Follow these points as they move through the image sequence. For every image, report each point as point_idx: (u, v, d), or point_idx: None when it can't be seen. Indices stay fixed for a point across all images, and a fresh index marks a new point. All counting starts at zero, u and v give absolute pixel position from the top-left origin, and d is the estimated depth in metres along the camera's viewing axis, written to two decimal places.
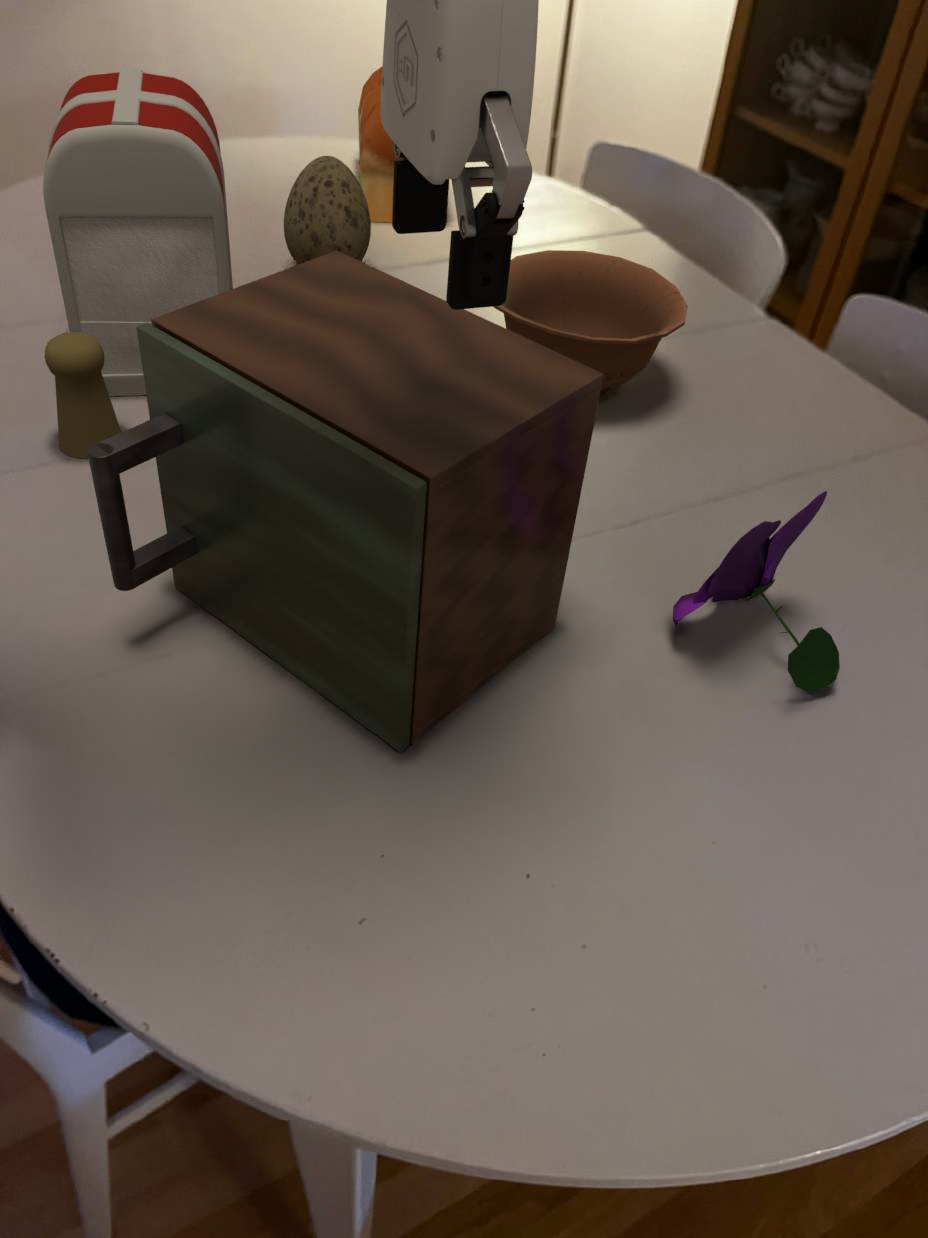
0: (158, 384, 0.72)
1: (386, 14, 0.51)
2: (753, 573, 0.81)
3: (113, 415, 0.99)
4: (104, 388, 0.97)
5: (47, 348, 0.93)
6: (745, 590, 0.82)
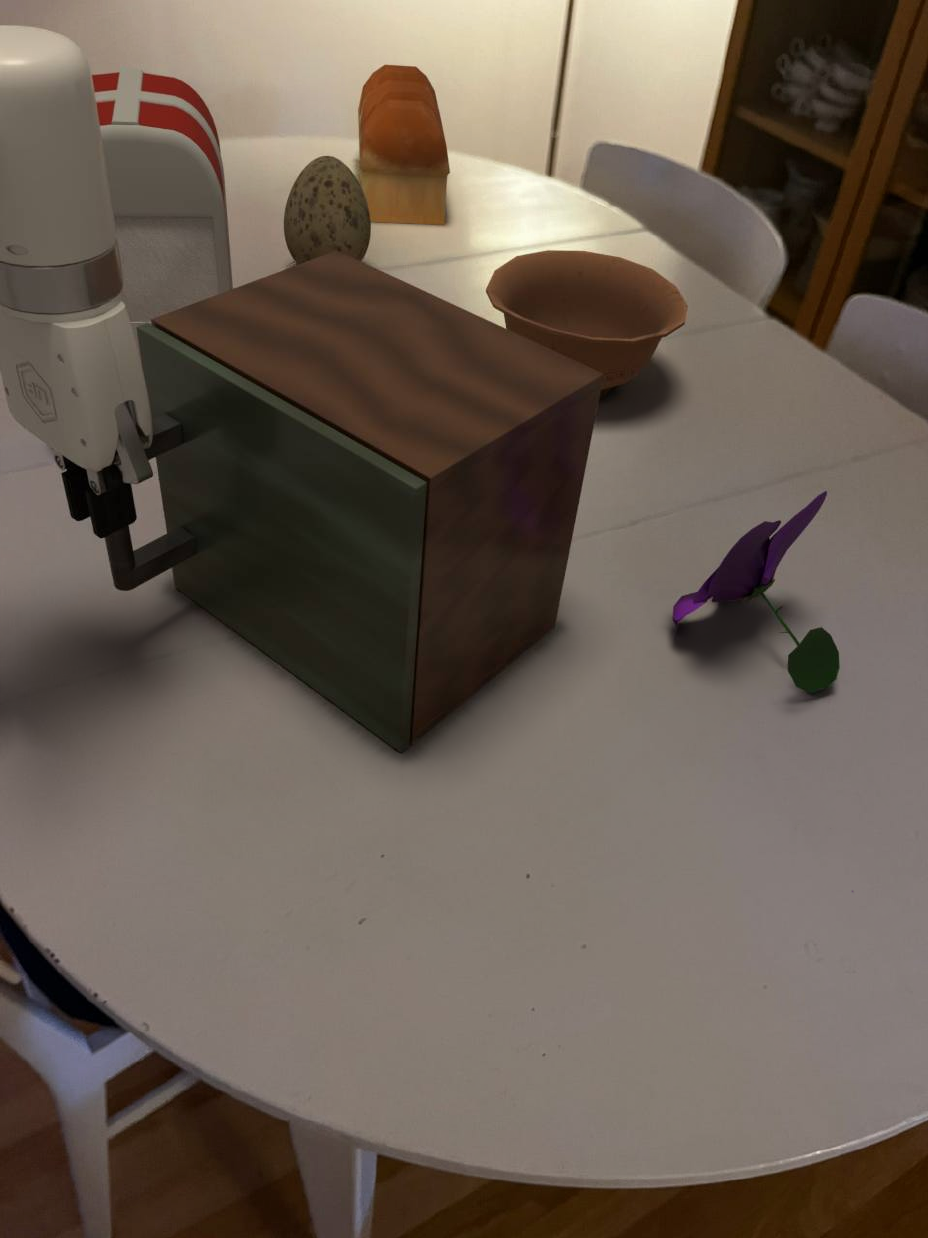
0: (158, 384, 0.72)
1: None
2: (753, 573, 0.81)
3: None
4: None
5: None
6: (745, 590, 0.82)
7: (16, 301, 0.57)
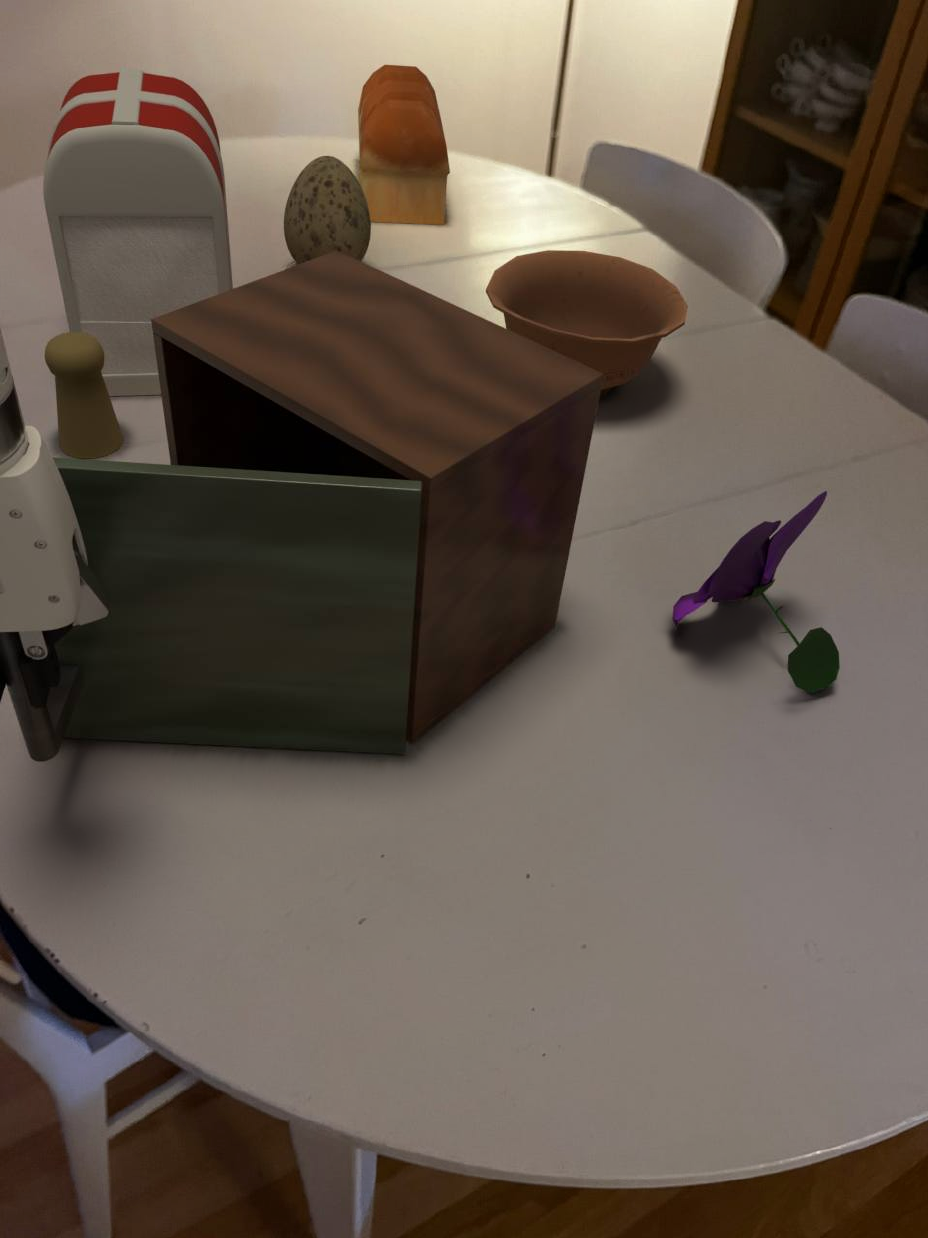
0: None
1: None
2: (753, 573, 0.81)
3: (113, 415, 0.99)
4: (104, 388, 0.97)
5: (47, 348, 0.93)
6: (745, 590, 0.82)
7: None
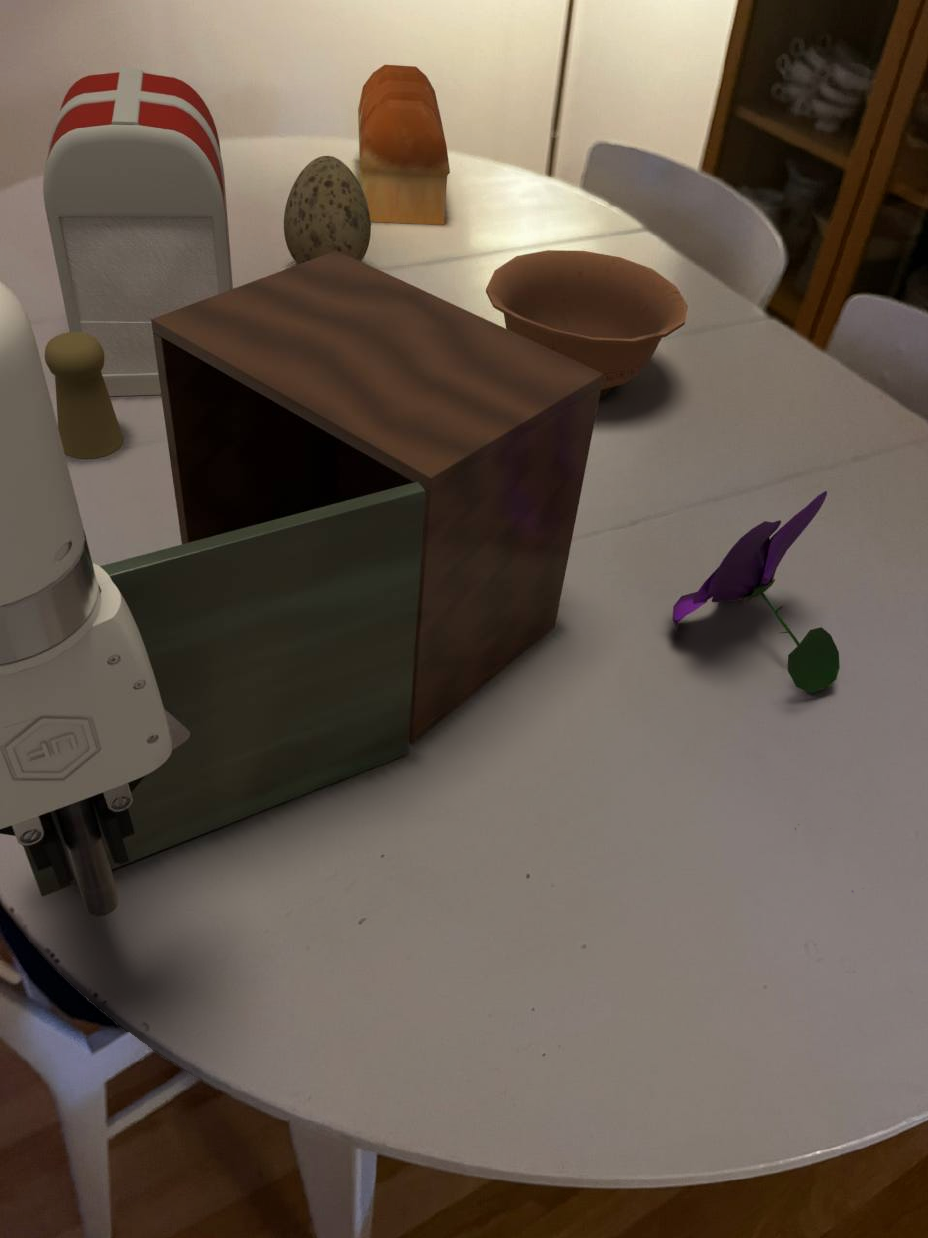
0: None
1: None
2: (753, 573, 0.81)
3: (113, 415, 0.99)
4: (104, 388, 0.97)
5: (47, 348, 0.93)
6: (745, 590, 0.82)
7: (55, 634, 0.39)
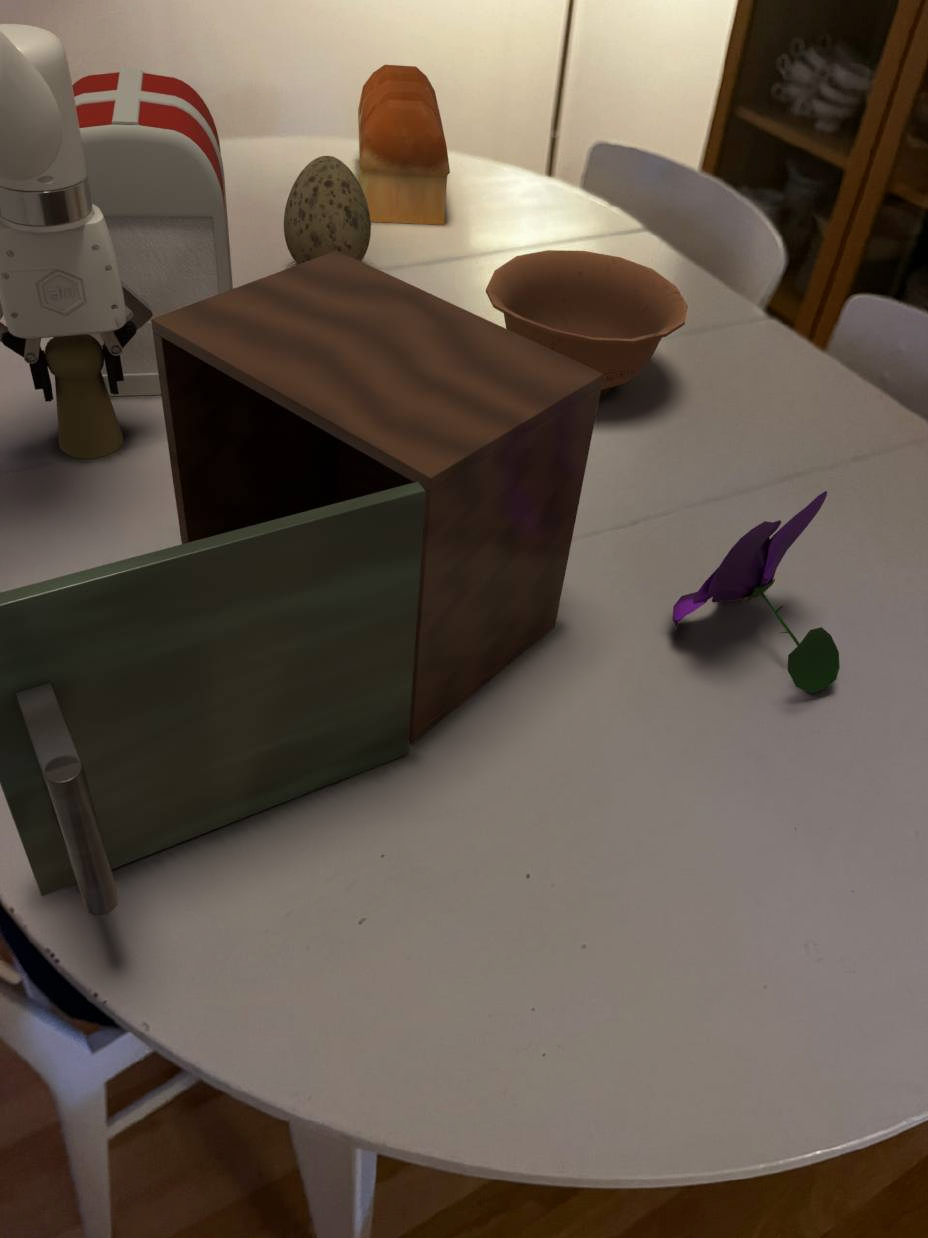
0: None
1: (6, 279, 0.85)
2: (753, 573, 0.81)
3: (113, 415, 0.99)
4: (104, 388, 0.97)
5: (47, 348, 0.93)
6: (745, 590, 0.82)
7: (65, 216, 0.83)
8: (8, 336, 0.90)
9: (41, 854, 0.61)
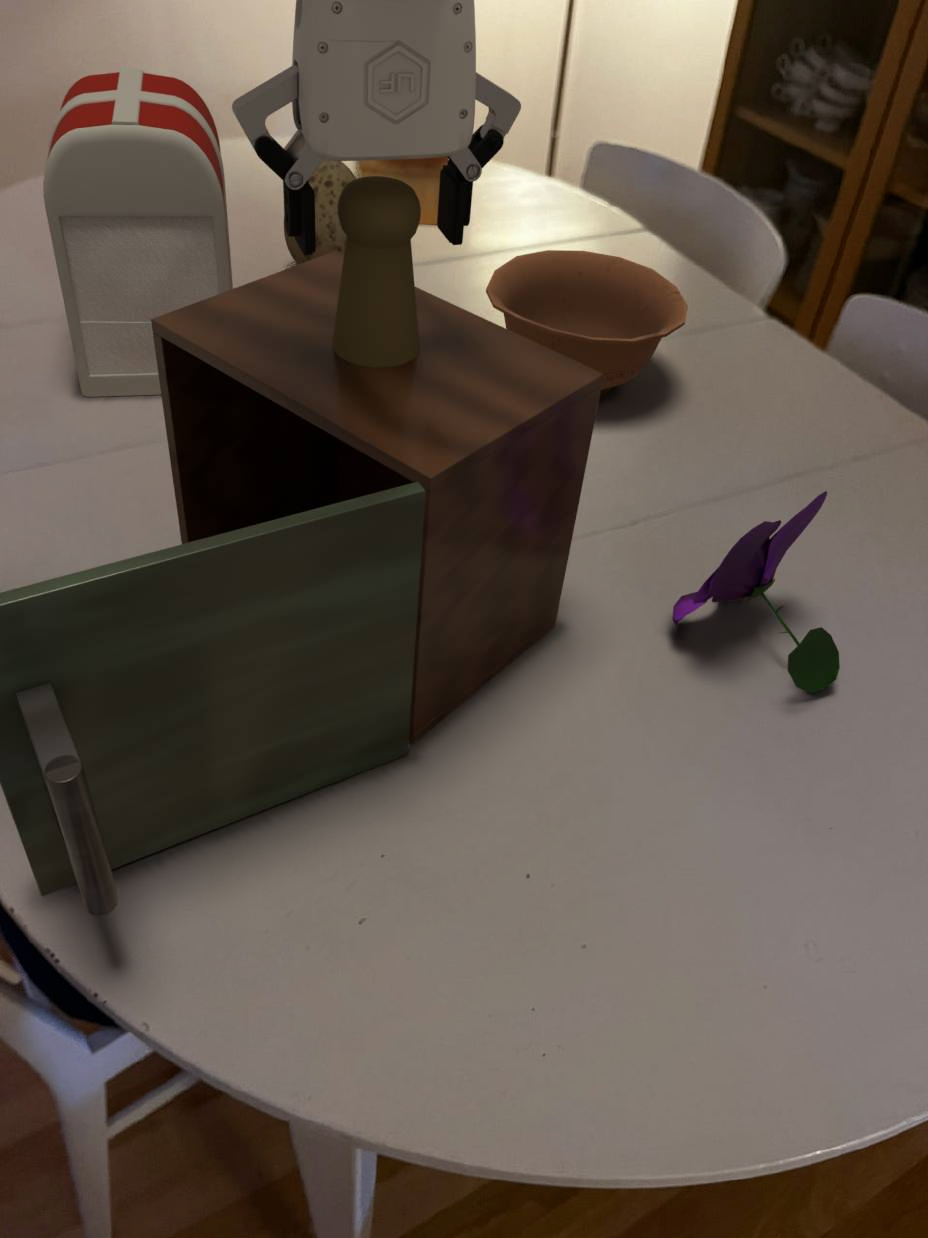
0: None
1: (323, 54, 0.55)
2: (753, 573, 0.81)
3: (415, 305, 0.68)
4: (412, 262, 0.66)
5: (346, 195, 0.62)
6: (745, 590, 0.82)
7: None
8: (266, 142, 0.58)
9: (41, 854, 0.61)
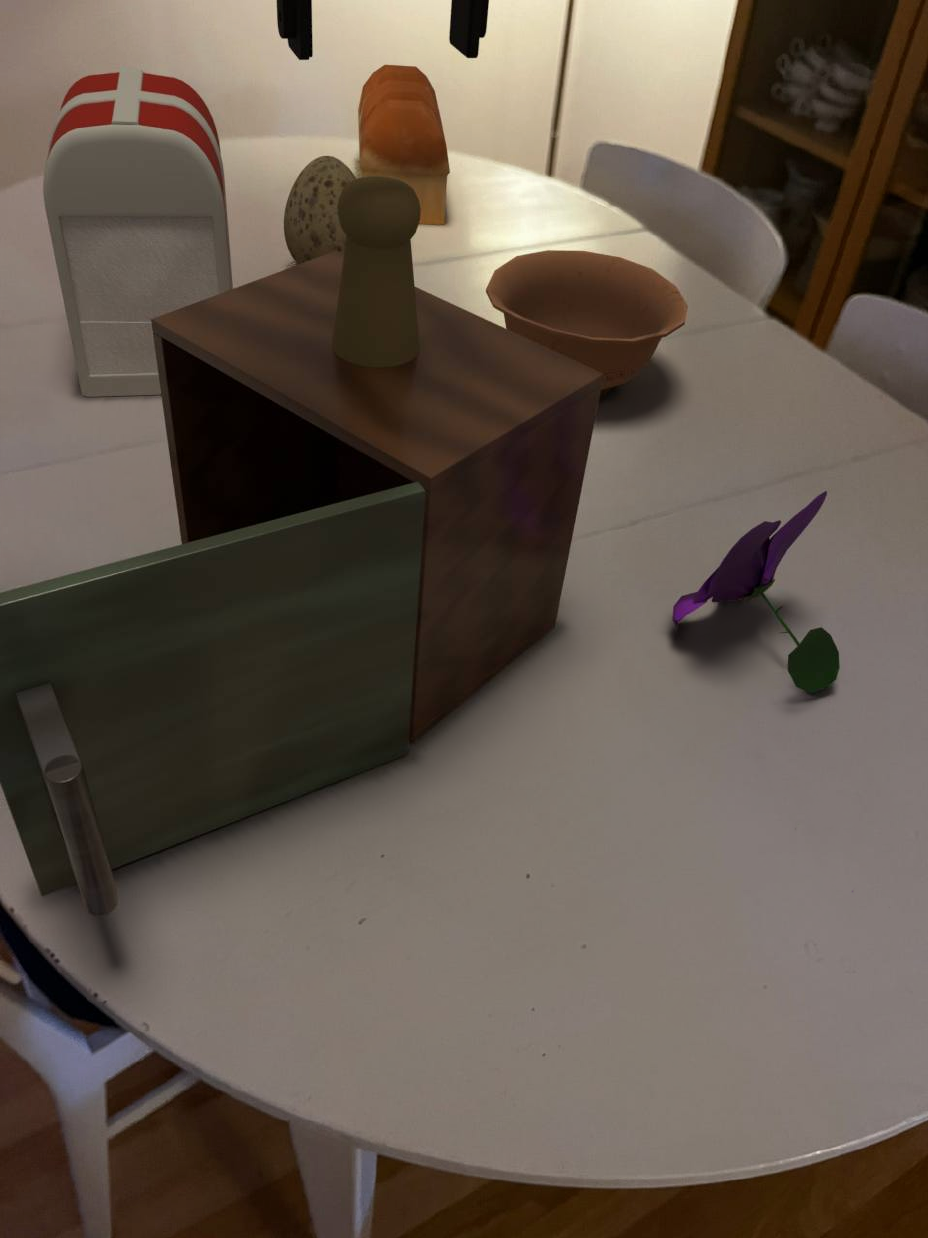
0: None
1: None
2: (753, 573, 0.81)
3: (415, 305, 0.68)
4: (412, 262, 0.66)
5: (346, 195, 0.62)
6: (745, 590, 0.82)
7: None
8: None
9: (41, 854, 0.61)
